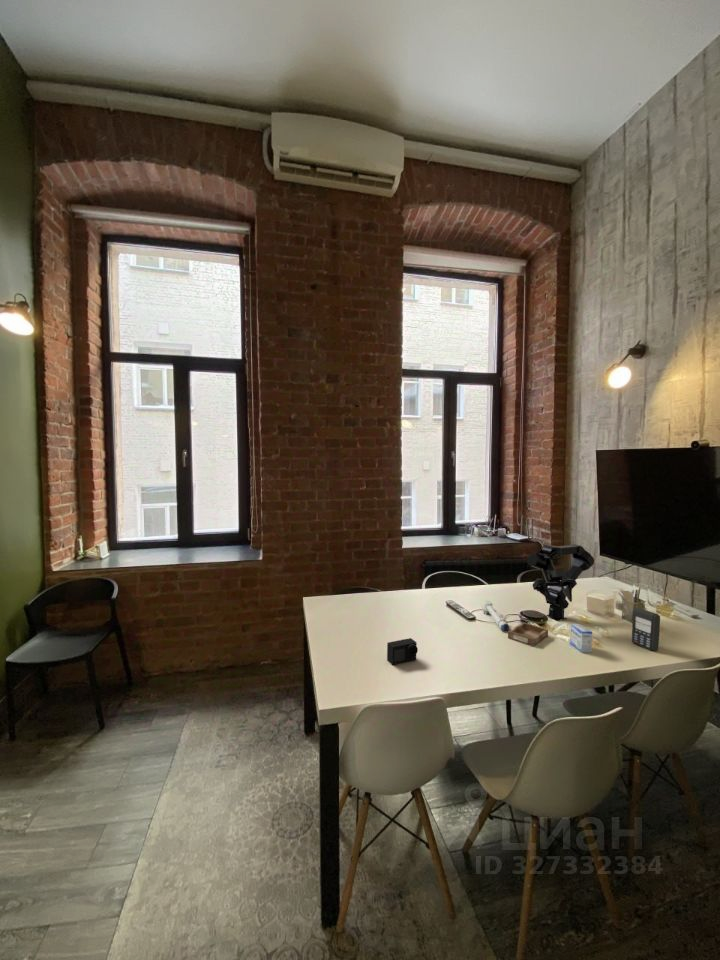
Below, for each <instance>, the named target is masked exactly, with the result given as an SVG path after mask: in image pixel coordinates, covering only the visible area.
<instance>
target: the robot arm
mask: <svg viewBox="0 0 720 960" xmlns="http://www.w3.org/2000/svg"><path fill="white" fill-rule="evenodd" d="M565 555H571V556H572V558H573V559H572V566H571V567H570V568H569V569H568V568H567V567H565V568H564V567H563V568H561V569H555V566H554V565H555V561H554V560H556V559H560V558H561V557H562V556H565ZM526 561H527V565H528V566H529V567H532V568H535V569H538V570H541V572H542V575H541V577H542V578H536V579H535V580H534V582H533V583H532V587H533V590H534V591H537V592H539V593H540V594H541V595H543V596H544V599H545V603H546V604H549V608H548V614H546V617H548V618H550V619H553V620H554V621H564V620H567V618H568V617H565V609H567V608H568V607H569V602H570V603H571V602H572V601H573V594H572V592H573V589H574V588H575V587H576V586H577V585H578V583H577V581H576V580H577V579H578V577H579V576H581V574H582V573H583V572H585V571H587V570H589V569H591V567H593V566H594V564H595V558H594V557H593V556H592V553H590V552H588V551H587V550H586V549H585V548H584V546H582V545H578V544H569V545H559V546H557V545H550V544H544V545H543V546H542V547H541V548H540V549H539V550H538V551H537V552H534V551H533V552H532V554H529V556H528V557H527V559H526ZM567 599H568V600H567ZM568 601H569V602H568Z"/></svg>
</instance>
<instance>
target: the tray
mask: <svg viewBox="0 0 720 960" xmlns="http://www.w3.org/2000/svg"><path fill="white" fill-rule="evenodd" d="M548 637H549V629H548V628H544V627H541V626H537V625H534V624H531V623H527V622H521V623H520V624H518V625H516V626H515V627H513V628H512V629H509V631H507V639H509V640H513V641H515V642H517V643H518V642H519V643H521V644H525V645H528V646H530V647H534V648H535V646H537V645H539V644H540V643H541V642H543V641H544V640H545V639H546V638H548Z"/></svg>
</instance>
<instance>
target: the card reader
mask: <svg viewBox="0 0 720 960" xmlns="http://www.w3.org/2000/svg"><path fill="white" fill-rule="evenodd" d="M631 624H632V626H631V627H632V628H631V642H632V644H634V645H636V646H638V647H642V648H643V649H646V650H649V651H651V652H657V651H658V650H659V646H660V645H659V644H660V627H661V616H660V615H659V614H658V613H655V612H653V611H650V610H646V609H644V608H641V607H635V608H633V609H632V623H631Z"/></svg>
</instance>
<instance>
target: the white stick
mask: <svg viewBox="0 0 720 960" xmlns="http://www.w3.org/2000/svg"><path fill="white" fill-rule="evenodd" d="M481 608H482V614H483V615H486V616H491V617H492V619H493V621H494V622H495V624H497V625H496V626H497V627H498V629H500V630H501V632H507V633H508V631H510V625H509V623H508V620H507V621H506V619H505V618H503V617H502V616H501V614H500V612H498V611H497V610H496V608H495V607H494V606H493V603H492V601H491V600H485V601H484V604H483V605H482V607H481Z"/></svg>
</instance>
